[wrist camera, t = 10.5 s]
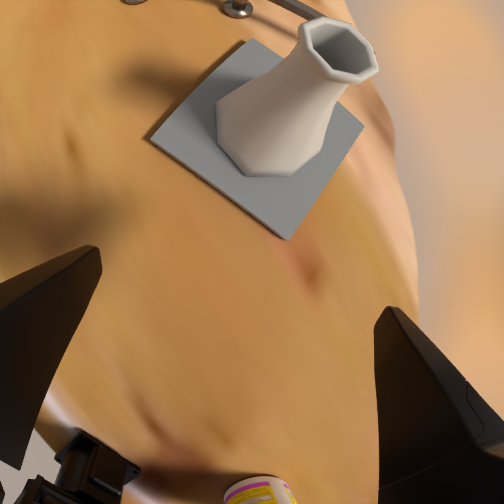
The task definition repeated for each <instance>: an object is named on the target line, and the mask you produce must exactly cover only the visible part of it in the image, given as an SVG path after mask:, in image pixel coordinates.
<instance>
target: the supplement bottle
mask: <svg viewBox="0 0 504 504" xmlns="http://www.w3.org/2000/svg"><path fill="white" fill-rule="evenodd" d="M224 504H297V502H296V500H295V498H294V496H293V494H292V492H291V490H290V489H289V487H288V485H287V484H286V483H285V482H284V481H283V480H281V479H279V478H276V477H270V476H259V477H253V478H249V479H245V480H242V481H240V482H238V483H236V484H234V485H233V486H231V487H230V488H229V489H228V490H227V491H226V493H225V495H224Z"/></svg>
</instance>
